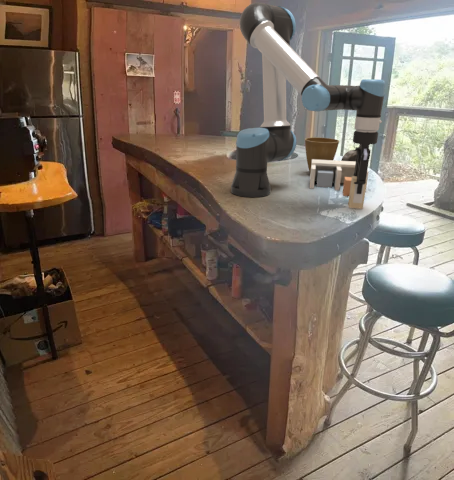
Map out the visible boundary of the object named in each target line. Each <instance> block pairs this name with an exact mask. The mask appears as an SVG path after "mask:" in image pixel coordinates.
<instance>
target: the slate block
mask: <svg viewBox="0 0 454 480" xmlns="http://www.w3.org/2000/svg"><path fill="white" fill-rule="evenodd" d="M332 180H333V170H318V173H317V181H316V183H317V184H316V187H317V188H328V187H329V188H332V187H333V182H332Z"/></svg>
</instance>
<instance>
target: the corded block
mask: <svg viewBox="0 0 454 480" xmlns="http://www.w3.org/2000/svg"><path fill="white" fill-rule="evenodd" d="M356 181H357V176H352V177H344V183H343V186H342V195H343V197H348V201H347V206H348V208H349V209H357V210H358V209H359V210H360V209H362V210H363V209H364V203H365V197H366V192H367V186H366V184H367V185H368V180H367V179H366V183H365V184H364V189H363V196H362V203H353V198H354V191H355V184H354V182H356ZM365 191H366V192H365Z"/></svg>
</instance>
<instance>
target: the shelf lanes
mask: <svg viewBox="0 0 454 480" xmlns="http://www.w3.org/2000/svg"><path fill="white" fill-rule="evenodd" d="M355 164H356V162H355V161H341V160H317V159H312V163H311V173H310V172H309V177H310V178H309V189H311V190H314V188H315V182H317V173H318V170H333V180H332V183H333V186H334V187H333V188H334V190H335V191H340V189H341V184H344V177H352V176H354V171H355ZM368 178H369V171H368V169H367V176H366V179H367V181H368ZM367 185H368V183H367V184H366V187H367ZM366 192H367V190H366V191H365V193H366Z"/></svg>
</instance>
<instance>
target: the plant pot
mask: <svg viewBox="0 0 454 480" xmlns="http://www.w3.org/2000/svg"><path fill="white" fill-rule="evenodd" d="M304 142H305V143H304V144H305V145H304V146H305V155H306V156H305V157H306V163H307V167H308V171H309V172H308V173H309V174H310V173H311V163H312V159H317V160H334V159H335V157H336V155H337V154H336V153H337V151H338V147H339V145H340V144H339V143H340V140H339V139H335V138H330V137H316V136H315V137H307V138H304Z"/></svg>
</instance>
